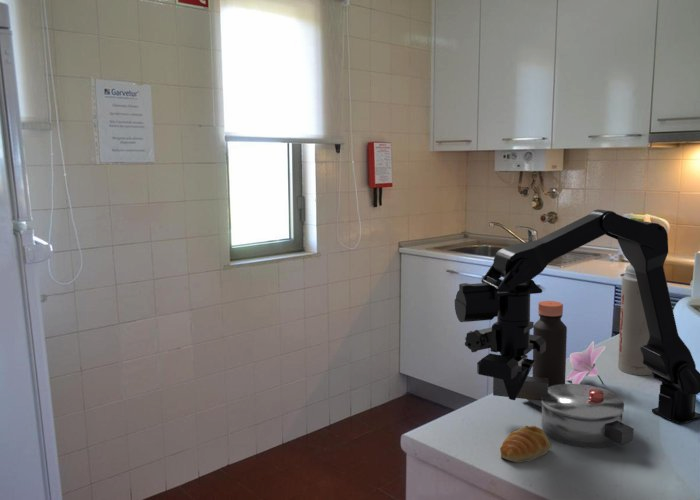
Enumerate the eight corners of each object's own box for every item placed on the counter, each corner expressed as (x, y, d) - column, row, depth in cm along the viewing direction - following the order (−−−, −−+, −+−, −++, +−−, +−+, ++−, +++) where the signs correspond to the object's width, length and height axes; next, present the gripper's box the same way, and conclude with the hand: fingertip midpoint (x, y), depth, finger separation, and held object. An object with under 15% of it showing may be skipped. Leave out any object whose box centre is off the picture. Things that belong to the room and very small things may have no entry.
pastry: (523, 470, 98) (523, 449, 97) (489, 456, 103) (489, 435, 102) (553, 451, 104) (554, 430, 103) (520, 438, 109) (520, 419, 108)
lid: (498, 380, 122) (498, 363, 122) (620, 393, 114) (621, 374, 114) (489, 408, 109) (489, 389, 109) (627, 425, 101) (628, 404, 100)
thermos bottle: (614, 371, 140) (619, 254, 135) (622, 361, 146) (627, 249, 142) (652, 378, 135) (658, 257, 131) (657, 367, 141) (664, 252, 137)
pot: (548, 393, 128) (548, 371, 127) (655, 445, 104) (656, 418, 104) (496, 405, 123) (496, 382, 122) (596, 463, 99) (597, 435, 98)
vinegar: (542, 384, 133) (544, 298, 130) (570, 393, 128) (573, 303, 125) (525, 393, 129) (527, 303, 125) (554, 402, 124) (557, 309, 120)
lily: (572, 375, 141) (555, 343, 139) (623, 363, 135) (606, 330, 132) (570, 409, 131) (551, 375, 129) (624, 398, 125) (605, 363, 123)
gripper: (492, 301, 119) (491, 375, 122) (449, 323, 104) (450, 407, 107) (547, 308, 113) (545, 386, 115) (510, 333, 98) (509, 422, 100)
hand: (512, 399), depth 109 cm, fingers closed
